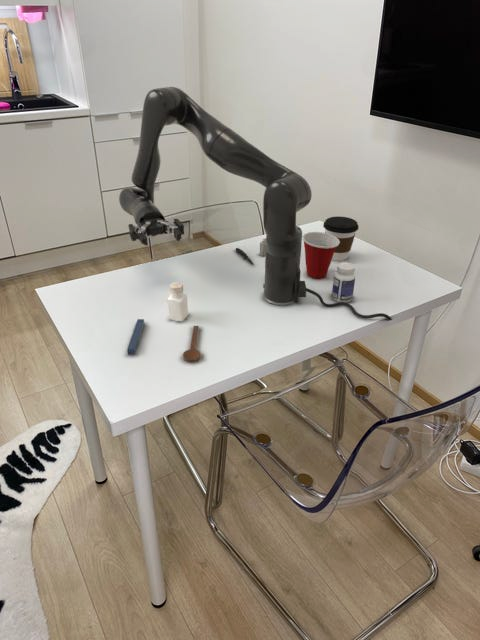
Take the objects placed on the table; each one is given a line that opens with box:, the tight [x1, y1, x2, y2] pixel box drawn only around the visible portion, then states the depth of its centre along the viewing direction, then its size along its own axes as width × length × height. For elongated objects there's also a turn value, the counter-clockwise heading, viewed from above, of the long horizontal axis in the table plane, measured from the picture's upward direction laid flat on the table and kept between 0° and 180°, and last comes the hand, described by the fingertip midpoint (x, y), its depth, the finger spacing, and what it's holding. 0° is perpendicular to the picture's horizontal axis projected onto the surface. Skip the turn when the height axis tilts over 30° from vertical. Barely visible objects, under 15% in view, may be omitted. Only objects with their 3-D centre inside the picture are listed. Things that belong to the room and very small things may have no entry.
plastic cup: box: [302, 231, 340, 280], centre depth 144 cm, size 11×11×12 cm
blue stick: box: [126, 318, 145, 356], centre depth 118 cm, size 2×13×2 cm, turn 0°
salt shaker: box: [167, 281, 189, 322], centre depth 124 cm, size 4×4×10 cm
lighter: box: [259, 237, 266, 257], centre depth 159 cm, size 7×2×8 cm, turn 133°
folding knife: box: [235, 247, 254, 265], centre depth 156 cm, size 13×1×2 cm, turn 25°
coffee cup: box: [323, 215, 359, 262], centre depth 155 cm, size 11×11×12 cm
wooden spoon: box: [182, 325, 202, 364], centre depth 116 cm, size 4×14×1 cm, turn 0°
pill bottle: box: [331, 261, 356, 303], centre depth 133 cm, size 6×6×10 cm
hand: (162, 239), depth 126 cm, fingers open, 8 cm apart
